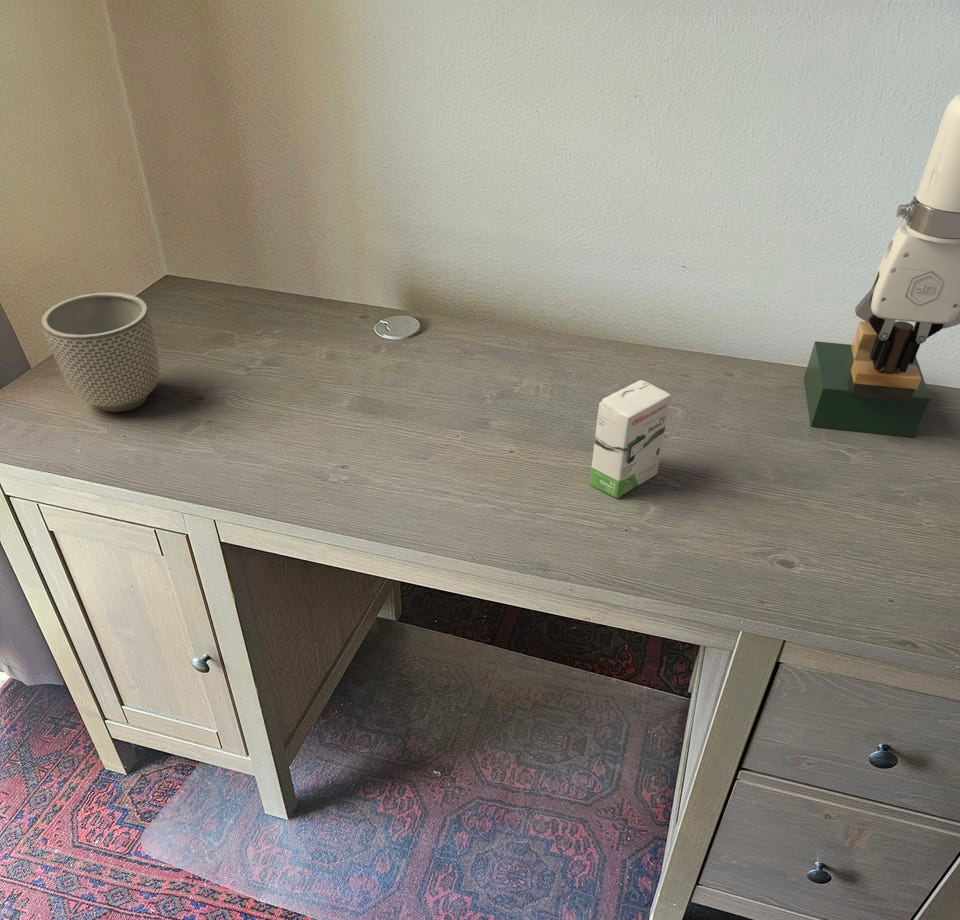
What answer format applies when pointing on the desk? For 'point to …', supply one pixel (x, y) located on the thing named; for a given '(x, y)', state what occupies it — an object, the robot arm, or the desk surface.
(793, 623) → the desk surface
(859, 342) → the tan wooden cube
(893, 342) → the brush
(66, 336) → the planter
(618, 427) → the ink box
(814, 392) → the enamel box
